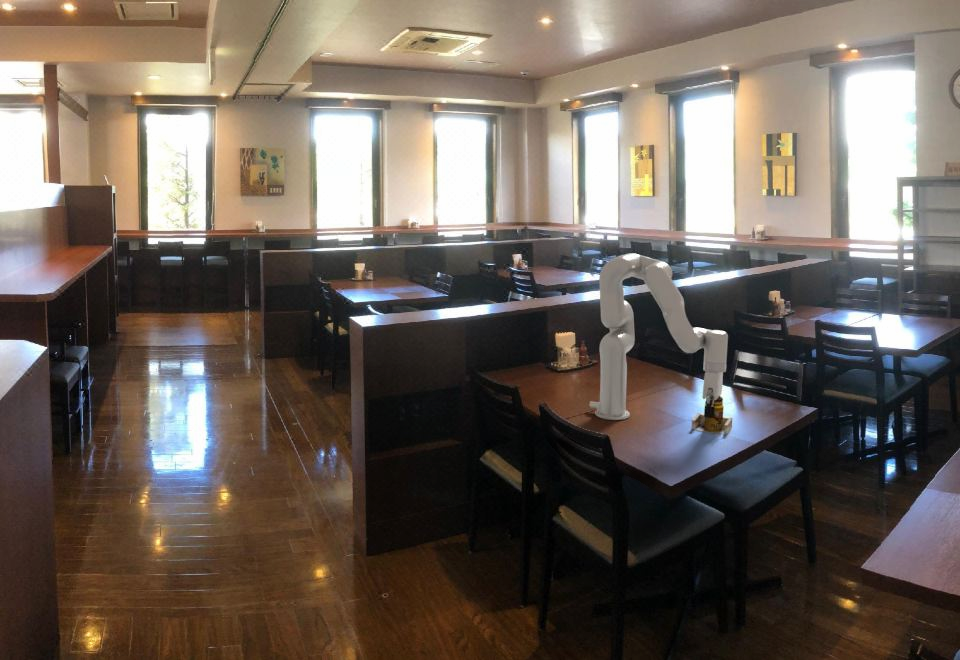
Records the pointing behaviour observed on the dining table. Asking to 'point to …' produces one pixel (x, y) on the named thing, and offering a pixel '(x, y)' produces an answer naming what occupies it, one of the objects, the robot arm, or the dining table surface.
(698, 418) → the u rest
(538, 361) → the dining table surface
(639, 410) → the dining table surface
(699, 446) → the dining table surface
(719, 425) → the condiment
